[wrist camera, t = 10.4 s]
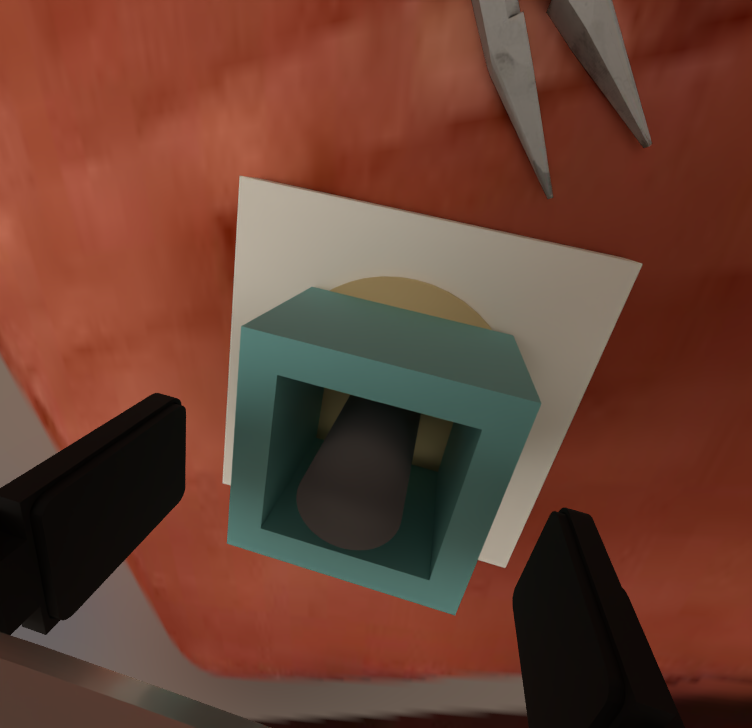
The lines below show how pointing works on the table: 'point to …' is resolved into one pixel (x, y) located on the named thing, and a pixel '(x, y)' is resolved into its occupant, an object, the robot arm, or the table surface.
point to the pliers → (589, 44)
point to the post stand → (432, 297)
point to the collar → (389, 386)
